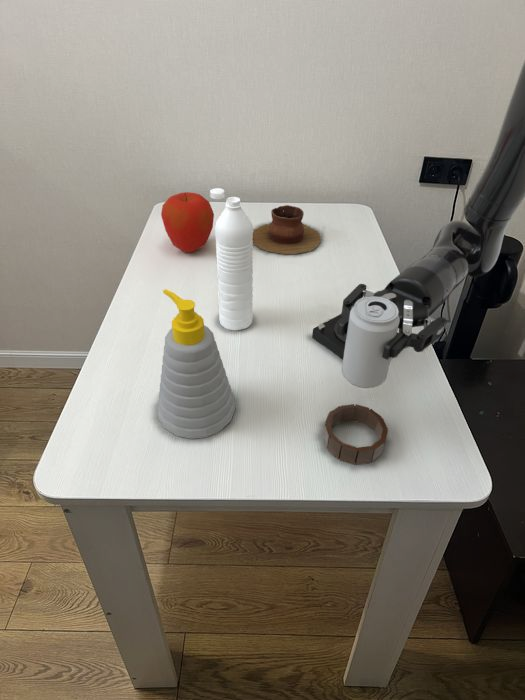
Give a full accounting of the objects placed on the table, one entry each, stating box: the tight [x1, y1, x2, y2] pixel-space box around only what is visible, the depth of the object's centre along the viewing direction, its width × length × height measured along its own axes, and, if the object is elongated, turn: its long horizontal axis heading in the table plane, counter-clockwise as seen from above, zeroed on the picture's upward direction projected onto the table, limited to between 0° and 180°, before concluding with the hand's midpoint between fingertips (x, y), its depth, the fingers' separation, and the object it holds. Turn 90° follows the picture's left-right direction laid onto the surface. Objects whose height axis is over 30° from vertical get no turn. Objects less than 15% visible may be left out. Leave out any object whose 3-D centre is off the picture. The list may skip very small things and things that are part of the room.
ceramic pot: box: [252, 204, 322, 255], centre depth 121 cm, size 18×18×7 cm
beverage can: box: [341, 296, 400, 389], centre depth 66 cm, size 6×6×12 cm
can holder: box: [322, 403, 389, 465], centre depth 73 cm, size 9×9×3 cm
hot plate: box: [311, 313, 399, 360], centre depth 91 cm, size 12×12×3 cm
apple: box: [160, 191, 215, 254], centre depth 114 cm, size 12×12×14 cm
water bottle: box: [209, 187, 254, 331], centre depth 89 cm, size 9×6×25 cm
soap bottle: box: [157, 288, 237, 440], centre depth 72 cm, size 12×12×20 cm
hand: (362, 342), depth 64 cm, fingers closed on beverage can, 6 cm apart
